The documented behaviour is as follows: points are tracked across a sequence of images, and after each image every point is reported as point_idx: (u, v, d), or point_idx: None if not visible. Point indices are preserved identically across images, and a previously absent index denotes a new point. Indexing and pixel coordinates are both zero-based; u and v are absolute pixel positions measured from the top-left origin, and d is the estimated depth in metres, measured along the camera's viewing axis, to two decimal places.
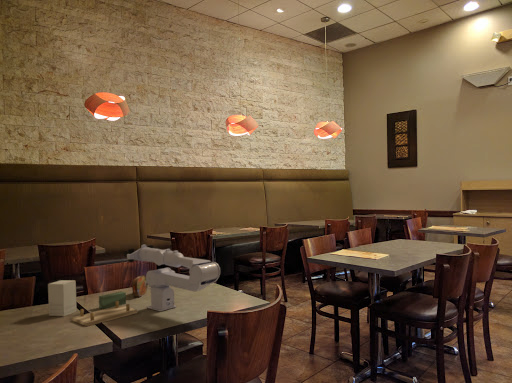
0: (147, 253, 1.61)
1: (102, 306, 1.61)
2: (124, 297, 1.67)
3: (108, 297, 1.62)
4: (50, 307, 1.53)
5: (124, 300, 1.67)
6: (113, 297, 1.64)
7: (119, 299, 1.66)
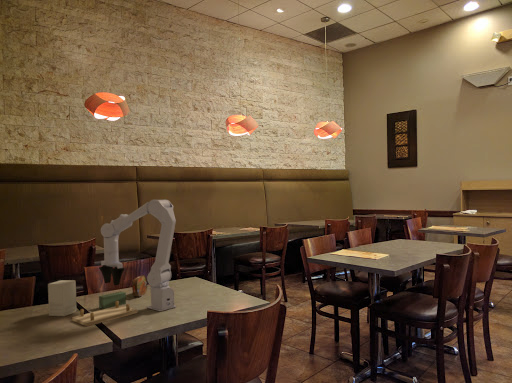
0: (105, 248, 1.64)
1: (102, 306, 1.61)
2: (124, 297, 1.67)
3: (108, 297, 1.62)
4: (50, 307, 1.53)
5: (124, 300, 1.67)
6: (113, 297, 1.64)
7: (119, 299, 1.66)
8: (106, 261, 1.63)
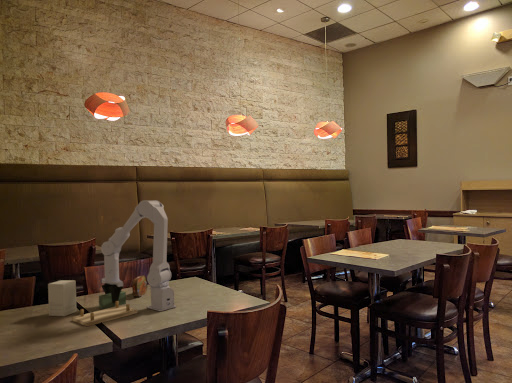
0: (105, 266, 1.64)
1: (102, 306, 1.61)
2: (124, 296, 1.67)
3: (108, 297, 1.62)
4: (50, 307, 1.53)
5: (124, 300, 1.67)
6: None
7: (119, 299, 1.66)
8: (106, 279, 1.63)
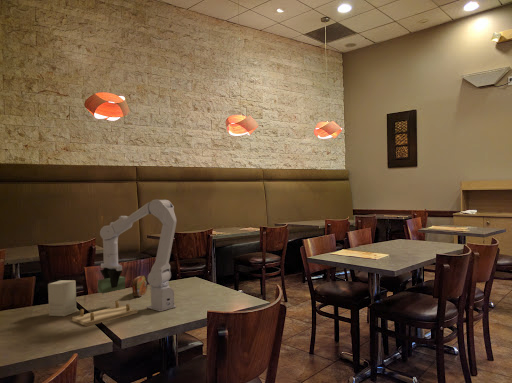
0: (104, 251, 1.62)
1: (101, 290, 1.60)
2: (123, 281, 1.66)
3: (107, 281, 1.61)
4: (50, 307, 1.53)
5: (123, 285, 1.66)
6: None
7: (118, 284, 1.64)
8: (105, 264, 1.62)
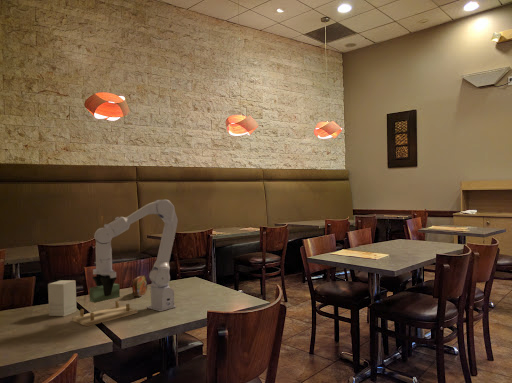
0: (101, 255, 1.47)
1: (93, 299, 1.45)
2: (117, 289, 1.51)
3: (99, 289, 1.46)
4: (50, 307, 1.53)
5: (118, 293, 1.52)
6: None
7: (111, 292, 1.50)
8: (98, 270, 1.47)
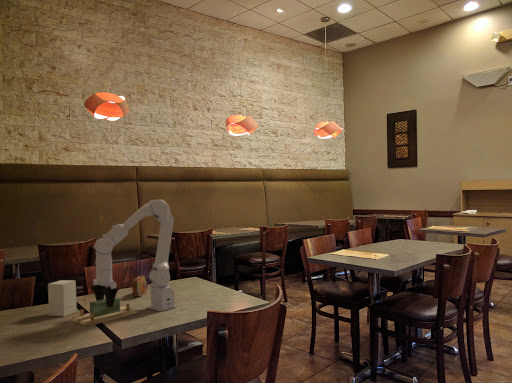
0: (102, 266, 1.47)
1: None
2: (118, 303, 1.51)
3: (100, 304, 1.46)
4: (50, 307, 1.53)
5: (118, 307, 1.51)
6: (105, 303, 1.48)
7: (112, 306, 1.49)
8: (98, 280, 1.47)
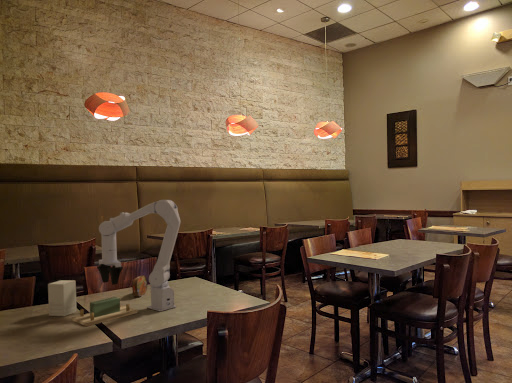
0: (103, 247, 1.59)
1: None
2: (118, 303, 1.51)
3: (100, 304, 1.46)
4: (50, 307, 1.53)
5: (118, 307, 1.51)
6: (105, 303, 1.48)
7: (112, 306, 1.49)
8: (104, 260, 1.58)
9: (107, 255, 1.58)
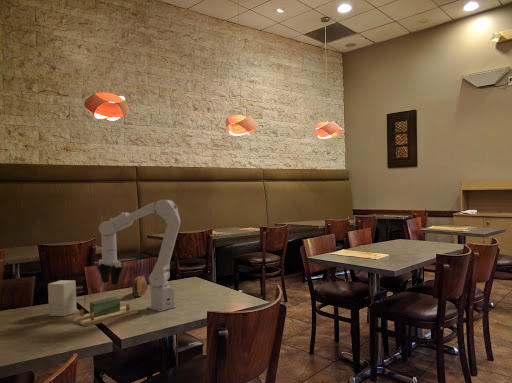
0: (103, 247, 1.59)
1: None
2: (118, 303, 1.51)
3: (100, 304, 1.46)
4: (50, 307, 1.53)
5: (118, 307, 1.51)
6: (105, 303, 1.48)
7: (112, 306, 1.49)
8: (104, 260, 1.58)
9: (107, 255, 1.58)
